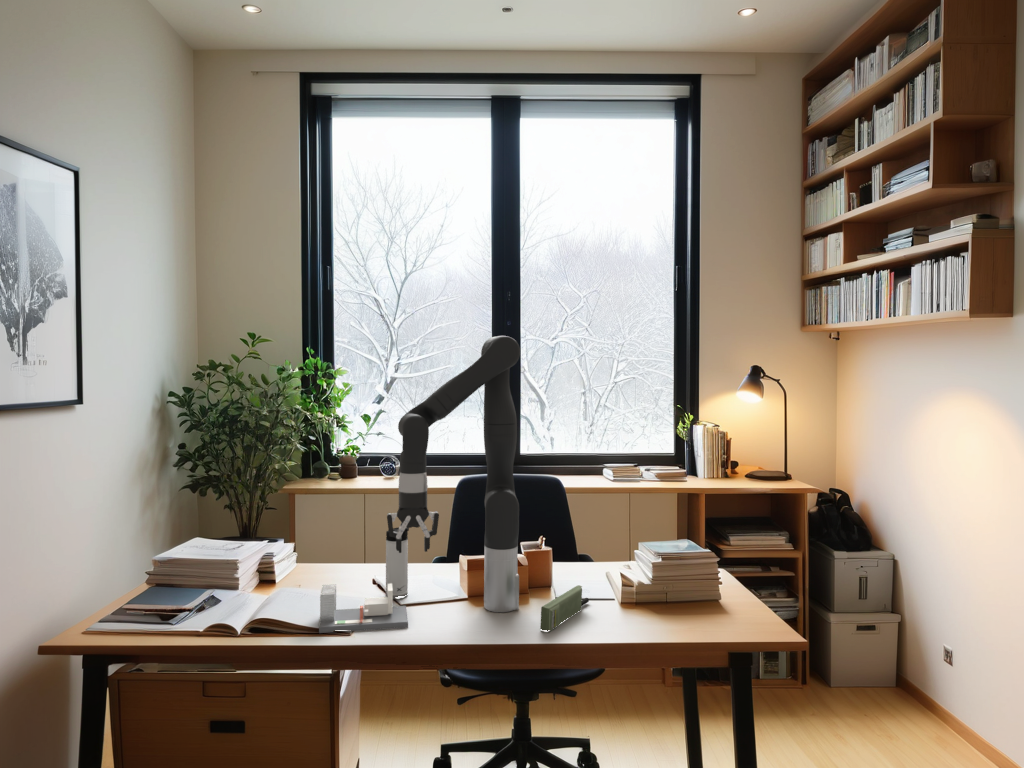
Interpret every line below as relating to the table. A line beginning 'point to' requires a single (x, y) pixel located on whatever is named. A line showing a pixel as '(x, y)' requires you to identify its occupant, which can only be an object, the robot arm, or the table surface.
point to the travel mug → (397, 564)
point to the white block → (379, 604)
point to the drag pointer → (361, 614)
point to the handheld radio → (562, 608)
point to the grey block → (328, 603)
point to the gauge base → (365, 620)
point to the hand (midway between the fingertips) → (412, 551)
